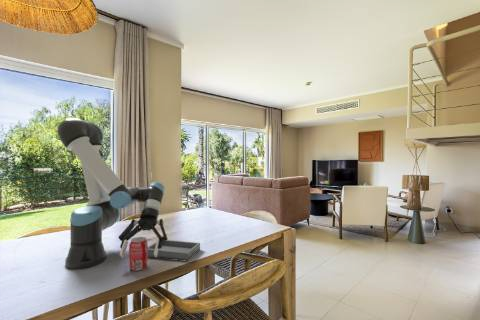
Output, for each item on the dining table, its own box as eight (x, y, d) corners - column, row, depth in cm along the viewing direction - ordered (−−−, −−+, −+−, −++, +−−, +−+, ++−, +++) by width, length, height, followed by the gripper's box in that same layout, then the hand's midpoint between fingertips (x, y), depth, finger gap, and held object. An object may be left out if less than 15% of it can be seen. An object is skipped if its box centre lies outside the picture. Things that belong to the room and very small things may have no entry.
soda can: (142, 262, 105) (142, 235, 105) (150, 267, 100) (150, 238, 100) (125, 268, 99) (126, 239, 99) (134, 273, 95) (134, 243, 95)
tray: (144, 256, 111) (144, 248, 111) (160, 246, 125) (160, 239, 125) (187, 261, 106) (187, 253, 106) (200, 249, 120) (200, 242, 120)
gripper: (178, 215, 116) (170, 259, 101) (126, 215, 115) (110, 260, 100) (176, 206, 111) (167, 251, 96) (121, 207, 110) (103, 252, 95)
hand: (138, 256), depth 98 cm, fingers open, 13 cm apart
